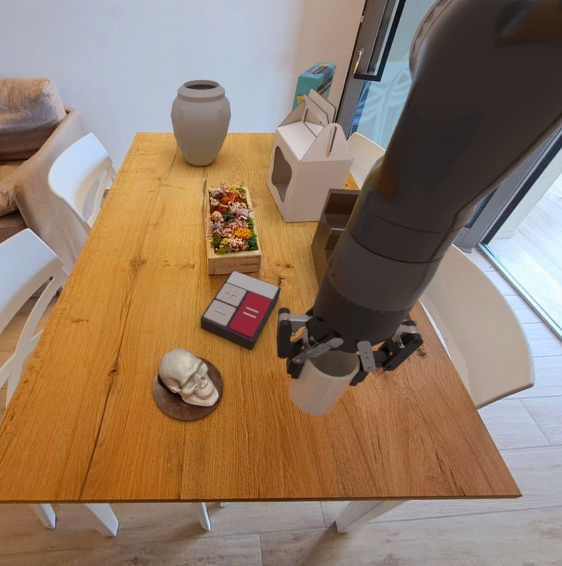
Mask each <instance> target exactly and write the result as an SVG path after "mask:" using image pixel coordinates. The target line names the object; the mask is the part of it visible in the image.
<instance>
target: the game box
mask: <svg viewBox="0 0 562 566" xmlns="http://www.w3.org/2000/svg"><path fill="white" fill-rule="evenodd" d="M336 68H337V64H336V63H329V62H319V61H318V62H316V64H314V65H313V66H311V67H310V68H308V69H307V70H305V71H304V72H302V73H301V74H299V75H298V78H297V82H296V87H295V92H294V96H293V97H294V98H293V102H292V108H291V112H292V111H293V110H294V109H295V107H296V106H297V105H298V104H299V103H300V102H301V101H303V100H304V99H305V97H304V93H305V94H306V95H307V96H309V93H310V90H311V89H315V90H316V91H317V92H318V93H320V94H321V95H322V96H323V97H324V98H326V99H327V100H328V98H329V96H330V91H331V87H332V84H333V79H334V77H335V72H336ZM328 101H329V100H328ZM300 121H301V120H300ZM320 124H321V125H322V124H323V123H322V122H321V121H320Z"/></svg>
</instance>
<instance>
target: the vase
mask: <svg viewBox="0 0 562 566" xmlns="http://www.w3.org/2000/svg"><path fill="white" fill-rule="evenodd" d="M176 92H177V96H176V97H174V99H173V100H172V105H171V111H170V119H171V120H170V121H171V125H172V130H173V131H172V132H173V136H174V138H175V141H176V143H177V146H178V149H179V152H180V153H181V154H182V156H183V158H184V159H185V160H186V161H187V163H189V164H190V165H192V166H194V167H205V166H208V165H210V164H212V163H213V162H214V160H215V159H216V158H217V157H218V155H219V153H220V152H221V150H222V148H223V145H224V143H225V141H226V138H227V136H228V135H227V134H228V131H229V127H230V121H231V117H232V113H231V103H230V100H229V99H228V98H227V96H226V89H225V88H224V87H223V86H222V85H221V84H220V83H219V82H218V81H215V80H210V79H194V80H188V81H186V82H184V83H183V84H182V85H180V87H179V88H177V91H176Z"/></svg>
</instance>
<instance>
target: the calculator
mask: <svg viewBox="0 0 562 566" xmlns="http://www.w3.org/2000/svg"><path fill="white" fill-rule="evenodd" d="M281 290H282V288H281V287H280V286H278V285H275V284H273V283H270V282H267V281H264V280H262V279H258V278H256V277H253V276H250V275H248V274H245V273H242V272H239V271H237V270H231V272H230V273H229V275H228V276H227V278H226V280H224V282H223V284H222V285H221V287H220V288H219V290H218V291H217V293H216V294H215V296H214V297H213V299H212V300H211V302H210V303H209V305H208V306H207V307H206V309H205V311H204V312H203V314H202V315H201V317H200V328H201V329H203V330H205V331H207V332H210V333H211V334H214V335H216V336H219V337H221V338H223V339H225V340H228V341H229V342H232V343H234V344H236V345H239V346H240V347H242V348H245V349H248V350H250V351H251V350H253V349H254V347H255V345H256V343H257V342H258V340H259V338H260V335H261V333H262V331H263V330H264V327H265V326H266V324H267V321H268V320H269V317H270V316H271V313H272V312H273V311H274V309H275V307H276V305H277V303H278V301H279V298H280V294H281Z"/></svg>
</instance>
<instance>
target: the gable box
mask: <svg viewBox="0 0 562 566" xmlns="http://www.w3.org/2000/svg"><path fill="white" fill-rule="evenodd" d="M304 97H305V99H304V100H303V101H301V102H300V103H299V104H298V105H297V106H296V107H295V109H294V110H293V111H292V110H291V112H290V113H289V114H288V115H287V116H286V117H285V119H283V121H282V122H281V123H280V124H279V125H278V126H277V127H276V128H275V133H274V139H273V145H272V149H271V150H272V151H271V156H270V163H269V168H268V173H267V180H266V186H267V188H268V190H269V192H270V194H271V197H272V198H273V200H274V202H275V204H276V207H277V208H278V211H279V212H280V215H281V217H282V219H283V221H284V223H303V222H304V223H306V222H319V220H320V216H321V213H322V210H323V207H324V204H325V201H326V198H327V195H328V192H329V189H330V188H333V189H345V185H346V182H347V179H348V176H349V174H350V171H351V167H352V166H353V163H354V159H355V158H353V156H352V152H351V150H350V145H349V144H348V141H347V139H346V135H345V132H344V130H343V127H342V126H341V124H340V123H337V122H335V121H336V115H337V107H336V106H335V105H334V104H333V103H332V102H330V101H329V100H327V99H326V98H324V97H323V96H322V95H321V94H320V93H318V92H317V91H316V90H315V89H311V90H310V93H309V96H307V95H306V94H305V93H304ZM300 120H301V121H300ZM320 121H321V122H322V123H321V124H320ZM322 124H323V125H324V126H322ZM328 153H329V154H328ZM327 154H328V155H327Z"/></svg>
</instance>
